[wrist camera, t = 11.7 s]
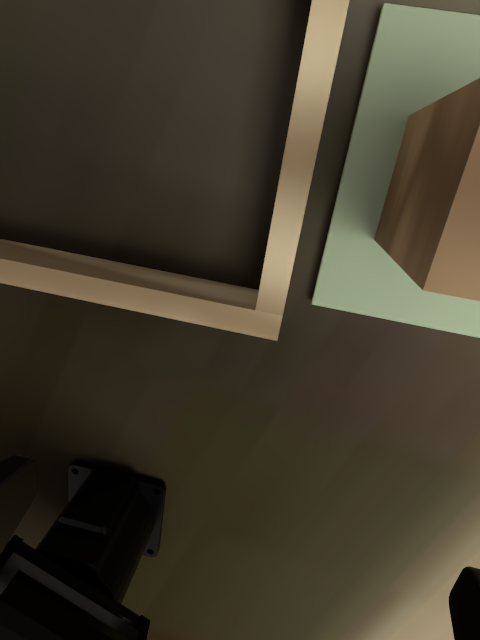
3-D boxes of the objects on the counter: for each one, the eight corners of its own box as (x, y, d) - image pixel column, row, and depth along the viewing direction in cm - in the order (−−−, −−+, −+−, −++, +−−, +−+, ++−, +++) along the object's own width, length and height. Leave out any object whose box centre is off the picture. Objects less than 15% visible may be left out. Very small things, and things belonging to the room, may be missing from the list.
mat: (498, 337, 19) (504, 342, 18) (311, 300, 20) (311, 304, 19) (630, 41, 14) (643, 36, 14) (381, 9, 15) (384, 3, 15)
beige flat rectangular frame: (281, 317, 20) (277, 340, 17) (-46, 250, 22) (-97, 262, 19) (355, -34, 15) (366, -81, 12) (-87, -88, 16) (-166, -140, 14)
